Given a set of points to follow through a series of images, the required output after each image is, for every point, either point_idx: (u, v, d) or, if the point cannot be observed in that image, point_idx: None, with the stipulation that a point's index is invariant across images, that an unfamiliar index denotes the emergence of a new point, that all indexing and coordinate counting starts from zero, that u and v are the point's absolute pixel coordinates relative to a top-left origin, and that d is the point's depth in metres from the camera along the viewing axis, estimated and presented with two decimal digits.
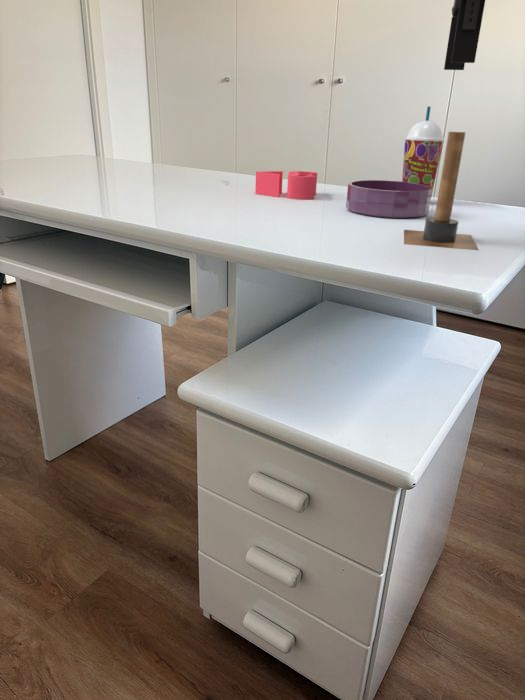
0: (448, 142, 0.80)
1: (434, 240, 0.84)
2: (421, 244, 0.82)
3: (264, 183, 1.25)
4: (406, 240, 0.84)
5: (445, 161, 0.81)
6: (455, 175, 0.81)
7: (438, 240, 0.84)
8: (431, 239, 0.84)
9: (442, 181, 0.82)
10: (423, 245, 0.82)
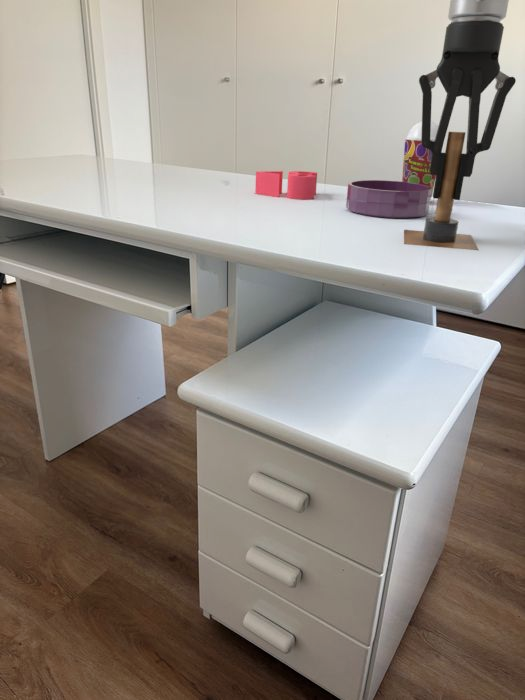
0: (448, 142, 0.80)
1: (434, 240, 0.84)
2: (421, 244, 0.82)
3: (264, 183, 1.25)
4: (406, 240, 0.84)
5: (445, 161, 0.81)
6: (455, 175, 0.81)
7: (438, 240, 0.84)
8: (431, 239, 0.84)
9: (442, 181, 0.82)
10: (423, 245, 0.82)
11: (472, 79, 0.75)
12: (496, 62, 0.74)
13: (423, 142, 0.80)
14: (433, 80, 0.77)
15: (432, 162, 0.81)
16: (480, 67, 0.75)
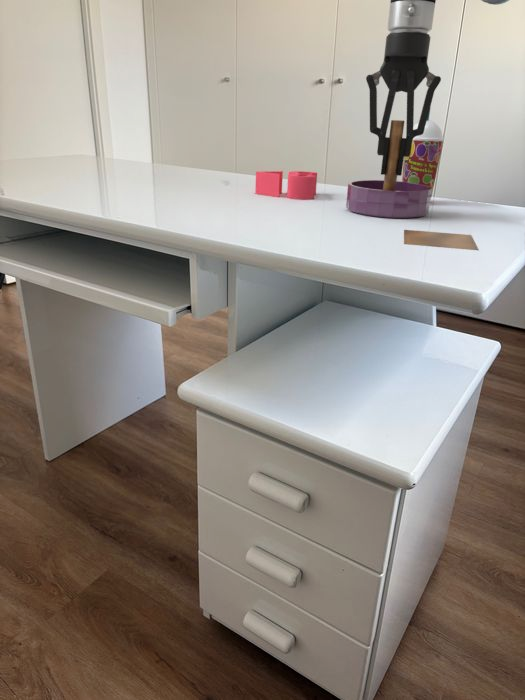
0: (391, 128, 0.99)
1: None
2: (421, 244, 0.82)
3: (264, 183, 1.25)
4: (406, 240, 0.84)
5: (389, 144, 1.00)
6: (397, 155, 1.00)
7: None
8: None
9: (387, 160, 1.01)
10: (423, 245, 0.82)
11: (407, 78, 0.95)
12: (425, 64, 0.94)
13: (371, 128, 0.99)
14: (377, 79, 0.97)
15: (379, 145, 1.01)
16: (413, 68, 0.94)
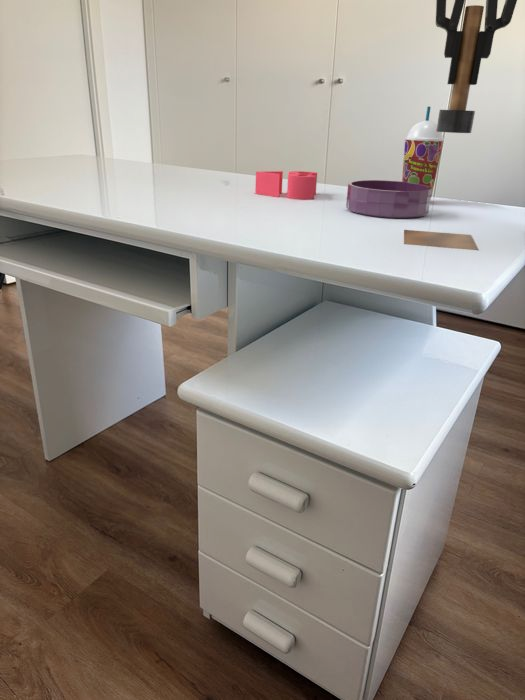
0: (465, 18, 0.74)
1: (449, 130, 0.78)
2: (421, 244, 0.82)
3: (264, 183, 1.25)
4: (406, 240, 0.84)
5: (461, 40, 0.75)
6: (472, 55, 0.75)
7: (453, 130, 0.78)
8: (445, 130, 0.78)
9: (458, 64, 0.76)
10: (423, 245, 0.82)
11: None
12: None
13: (438, 19, 0.74)
14: None
15: (447, 42, 0.75)
16: None
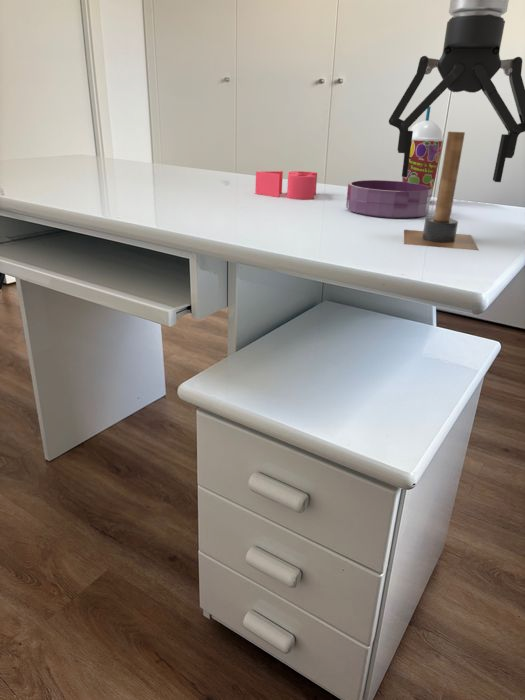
0: (447, 142, 0.80)
1: (433, 240, 0.84)
2: (421, 244, 0.82)
3: (264, 183, 1.25)
4: (406, 240, 0.84)
5: (444, 161, 0.81)
6: (454, 175, 0.81)
7: (437, 240, 0.84)
8: (430, 239, 0.84)
9: (441, 181, 0.82)
10: (423, 245, 0.82)
11: (476, 76, 0.75)
12: (497, 57, 0.74)
13: (391, 118, 0.80)
14: (431, 67, 0.77)
15: (399, 140, 0.81)
16: (481, 62, 0.74)
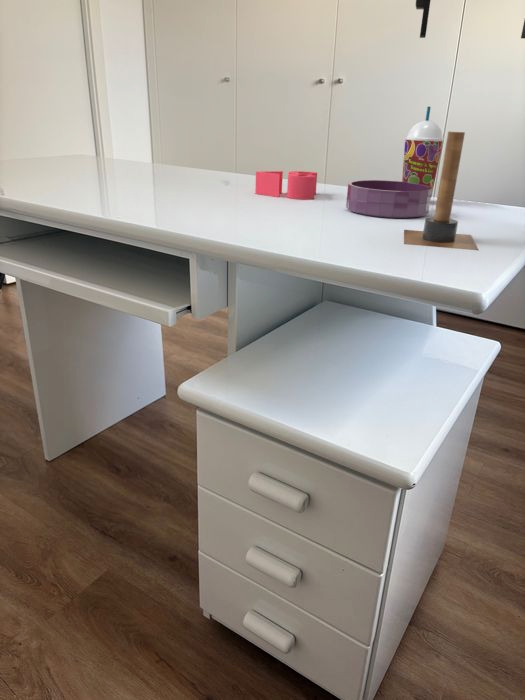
0: (447, 142, 0.80)
1: (433, 240, 0.84)
2: (421, 244, 0.82)
3: (264, 183, 1.25)
4: (406, 240, 0.84)
5: (444, 161, 0.81)
6: (454, 175, 0.81)
7: (437, 240, 0.84)
8: (430, 239, 0.84)
9: (441, 181, 0.82)
10: (423, 245, 0.82)
11: None
12: None
13: None
14: None
15: None
16: None
